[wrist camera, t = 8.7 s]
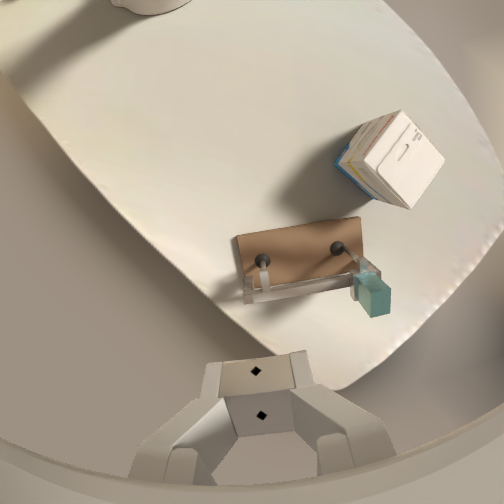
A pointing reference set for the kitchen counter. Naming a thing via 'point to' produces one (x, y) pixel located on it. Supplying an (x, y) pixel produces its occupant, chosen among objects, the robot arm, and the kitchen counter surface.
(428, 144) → the ink box
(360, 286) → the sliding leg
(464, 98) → the kitchen counter surface
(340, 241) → the board
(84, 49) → the kitchen counter surface
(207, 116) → the kitchen counter surface
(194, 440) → the robot arm
